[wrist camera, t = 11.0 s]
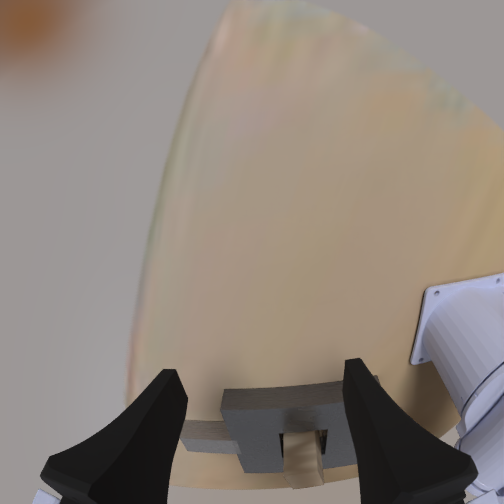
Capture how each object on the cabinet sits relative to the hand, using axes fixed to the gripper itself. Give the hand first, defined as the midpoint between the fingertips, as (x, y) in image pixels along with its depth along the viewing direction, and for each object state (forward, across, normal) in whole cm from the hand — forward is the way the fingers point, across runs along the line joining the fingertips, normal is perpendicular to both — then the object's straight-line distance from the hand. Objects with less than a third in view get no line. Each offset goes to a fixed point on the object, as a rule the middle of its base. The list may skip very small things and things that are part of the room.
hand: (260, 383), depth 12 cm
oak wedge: (+9, -2, +18) cm, 20 cm away
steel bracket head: (+9, +1, +18) cm, 20 cm away
